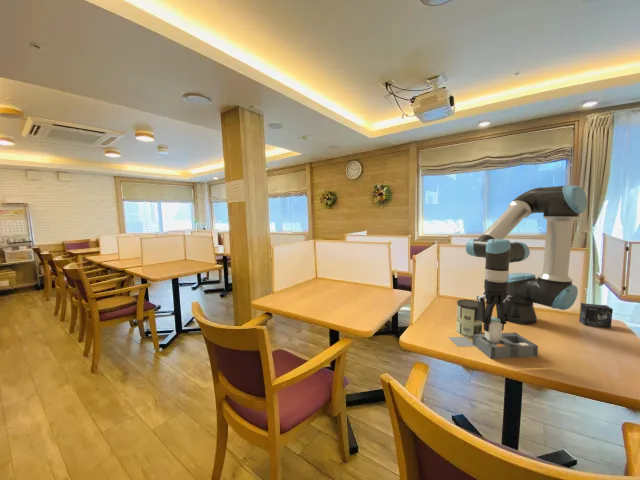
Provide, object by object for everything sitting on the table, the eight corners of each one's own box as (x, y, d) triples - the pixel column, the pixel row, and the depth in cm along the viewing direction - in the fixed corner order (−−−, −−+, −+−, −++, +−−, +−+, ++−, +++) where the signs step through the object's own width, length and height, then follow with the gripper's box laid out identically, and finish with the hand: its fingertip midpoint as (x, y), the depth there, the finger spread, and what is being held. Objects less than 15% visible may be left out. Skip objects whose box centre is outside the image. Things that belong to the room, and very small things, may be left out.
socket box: (514, 343, 112) (515, 331, 111) (537, 357, 101) (538, 345, 100) (472, 345, 111) (473, 333, 110) (490, 359, 100) (491, 347, 99)
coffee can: (476, 329, 125) (478, 299, 124) (485, 339, 115) (487, 307, 114) (453, 327, 127) (454, 298, 126) (459, 337, 117) (460, 306, 116)
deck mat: (465, 337, 117) (465, 336, 117) (477, 346, 109) (477, 345, 109) (447, 338, 117) (447, 337, 117) (457, 347, 109) (458, 346, 109)
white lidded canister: (494, 344, 108) (495, 316, 106) (502, 349, 103) (503, 320, 102) (483, 344, 107) (484, 316, 106) (491, 350, 103) (492, 321, 102)
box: (584, 325, 126) (586, 306, 125) (578, 321, 131) (580, 302, 130) (611, 328, 123) (613, 308, 122) (604, 324, 128) (605, 304, 127)
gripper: (509, 276, 106) (506, 333, 109) (469, 278, 106) (466, 335, 108) (524, 281, 99) (520, 342, 102) (481, 283, 98) (478, 344, 101)
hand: (492, 338), depth 105 cm, fingers closed on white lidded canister, 3 cm apart
